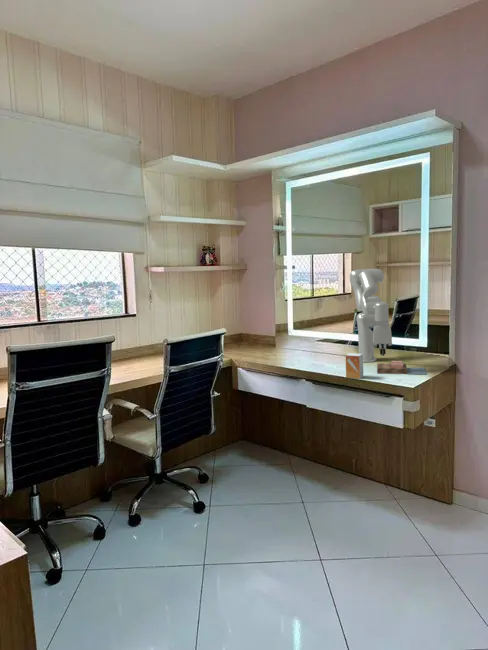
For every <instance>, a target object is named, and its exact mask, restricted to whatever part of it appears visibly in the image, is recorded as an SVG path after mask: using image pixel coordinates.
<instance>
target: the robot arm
mask: <svg viewBox="0 0 488 650" xmlns="http://www.w3.org/2000/svg"><path fill="white" fill-rule="evenodd" d="M384 278H385V276H384V272H383V271H382V270H381V269H380V268H361V269H354V270H352V271H351V272H350V273H349V283H350V285H351V288H352V289H353V290H352V291H353V292H354V298H355V304H356V309H357V310H358V311H361V312H359V313H358V314H357V315H356V320H355V321H356V325H357V332H358V334H357V335H358V337H357V339H358V353H357V354H363V363H373V362H376V361H378V360H377V357H375V347H377V348H379V353H380V355H381V356H383V357H385V355H386V349H387V348H388V347H390V346H393V338H392V337H393V336H392V329H391V326H390V324H389V323H390V321H389V318H390V317H389V313H390V312H389V303H388V302H385V301H382V299H381V298H380V296H378V295H375V294H376V293H377V292H378V291H379V286H378V284H377V283H382V282H383V281H384ZM372 327H373V330H372V329H371V328H372ZM382 345H383V347H382Z"/></svg>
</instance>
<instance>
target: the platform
mask: <svg viewBox="0 0 488 650" xmlns="http://www.w3.org/2000/svg"><path fill="white" fill-rule="evenodd" d="M376 366H377V367H376V372H377V373H376V374H379V375H380V374H383V375H385V374H387V375H391V374H393V375H408V374H407V368H408V367H407V363H403V368H392V364H391V363H385V362H384V363H383V362H382V363H381V362H380V363H379V362H378V363H377V365H376Z"/></svg>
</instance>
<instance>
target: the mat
mask: <svg viewBox="0 0 488 650" xmlns="http://www.w3.org/2000/svg"><path fill="white" fill-rule="evenodd" d="M406 375H418V376H419V375H420V376H421V375H423V376H425V375H427V372H426V369H425V367H407V374H406Z"/></svg>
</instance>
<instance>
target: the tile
mask: <svg viewBox="0 0 488 650" xmlns="http://www.w3.org/2000/svg"><path fill="white" fill-rule="evenodd" d="M390 364H392V368H403V364H404V363H403V361H402V360H391V363H390Z"/></svg>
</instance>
